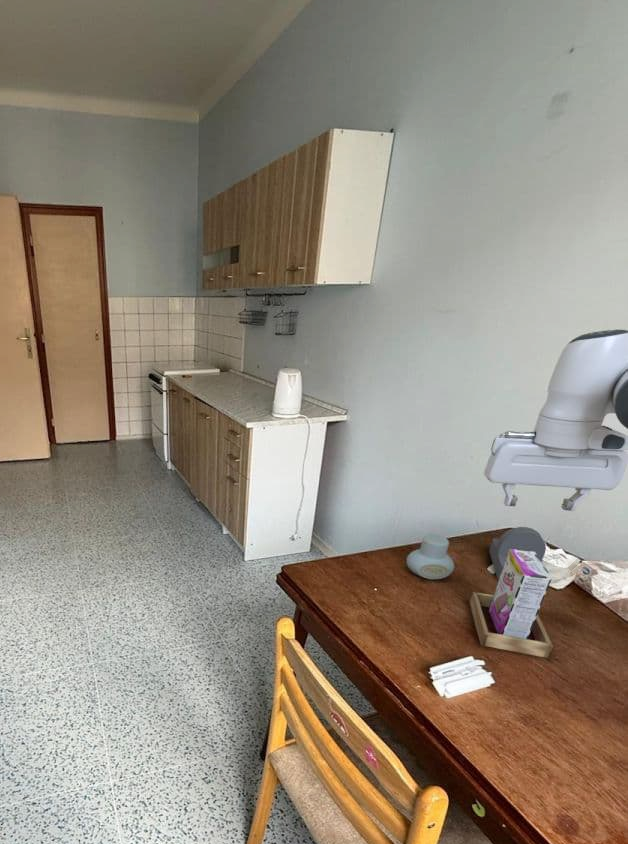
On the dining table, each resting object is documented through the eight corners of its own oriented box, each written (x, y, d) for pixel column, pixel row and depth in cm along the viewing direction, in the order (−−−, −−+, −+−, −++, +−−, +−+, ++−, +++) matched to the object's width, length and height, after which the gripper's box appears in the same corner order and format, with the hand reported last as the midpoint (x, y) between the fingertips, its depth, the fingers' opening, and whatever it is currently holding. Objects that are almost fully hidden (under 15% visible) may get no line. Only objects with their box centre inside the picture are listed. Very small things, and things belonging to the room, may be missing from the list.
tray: (527, 612, 107) (531, 601, 105) (547, 658, 93) (553, 646, 92) (469, 602, 111) (472, 591, 109) (480, 645, 97) (484, 633, 96)
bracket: (528, 554, 130) (542, 519, 125) (543, 587, 115) (558, 548, 110) (488, 548, 133) (500, 513, 128) (497, 579, 119) (510, 541, 114)
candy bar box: (486, 611, 107) (508, 547, 99) (511, 615, 106) (536, 550, 98) (498, 641, 98) (523, 573, 90) (526, 646, 96) (554, 577, 89)
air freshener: (446, 567, 125) (455, 533, 120) (454, 583, 118) (465, 548, 113) (401, 563, 127) (409, 530, 122) (407, 579, 120) (416, 544, 115)
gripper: (501, 435, 82) (479, 508, 88) (645, 440, 76) (610, 518, 83) (491, 426, 87) (471, 496, 93) (624, 431, 82) (593, 505, 88)
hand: (537, 507), depth 88 cm, fingers open, 8 cm apart
